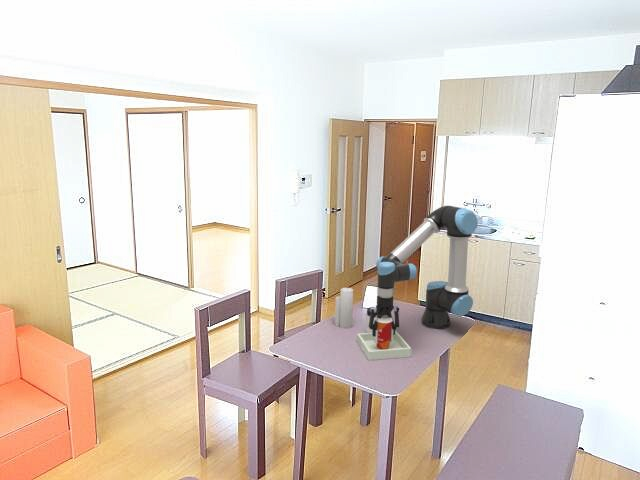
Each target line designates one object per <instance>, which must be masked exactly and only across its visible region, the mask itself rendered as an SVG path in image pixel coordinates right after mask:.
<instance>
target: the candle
mask: <svg viewBox="0 0 640 480" xmlns="http://www.w3.org/2000/svg"><path fill="white" fill-rule="evenodd" d="M334 299H335V303H334V326H336V327H341V328H343V329H349V328H352V327H353V315H354V314H353V313H354V312H353V307H354V305H353V304H354V289H353V288H351V287H342V288H340V296H339V295H338V296H335V298H334Z"/></svg>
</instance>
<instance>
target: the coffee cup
mask: <svg viewBox="0 0 640 480" xmlns="http://www.w3.org/2000/svg"><path fill="white" fill-rule="evenodd" d="M392 318H393V316H392V317H391V318H389V316H388V315H382V317H381V318H380V319H379V318H377V316H376V318H375V320H376V321H377V319H378V321H377V322H378V326H377V329H376V330H378V337H377V344H376V345H377V348H379V349H388V348H389V345H390V335H391V327H392V326H391V325H392V321H394V319H393V320H392Z"/></svg>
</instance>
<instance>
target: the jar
mask: <svg viewBox="0 0 640 480" xmlns="http://www.w3.org/2000/svg"><path fill="white" fill-rule="evenodd" d="M375 307H376V306H371V307H368V308H366V314H365V333H372V329H370V328H369V320H370V314H371V312H370V308H375ZM377 313H378V311H377V310H376V312H375V316H374V322H375V318H376V316H377ZM374 322H373V324H374Z"/></svg>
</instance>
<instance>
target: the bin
mask: <svg viewBox="0 0 640 480" xmlns="http://www.w3.org/2000/svg"><path fill="white" fill-rule="evenodd" d="M356 342H357V344H358V346H359V347H360V349H361V350H362V352H363V354H364V355H365V357H366V358H367V360H368V361H375V360H376V361H377V360H388V359H400V358H401V359H402V358H411V357H412V347H410V345H409V344H408V343H407V342H406V340H405V339H404V338H403V337H402V336H401V335H400V334H399V333H398V331H397V330H395V335H393V342H392V343H391V342H390V345H389V348H388V349H379V348H377V345H376V343H375V342H374V337H373V335H372V333H367V332H365V333H364V332H362V333H356Z"/></svg>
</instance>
